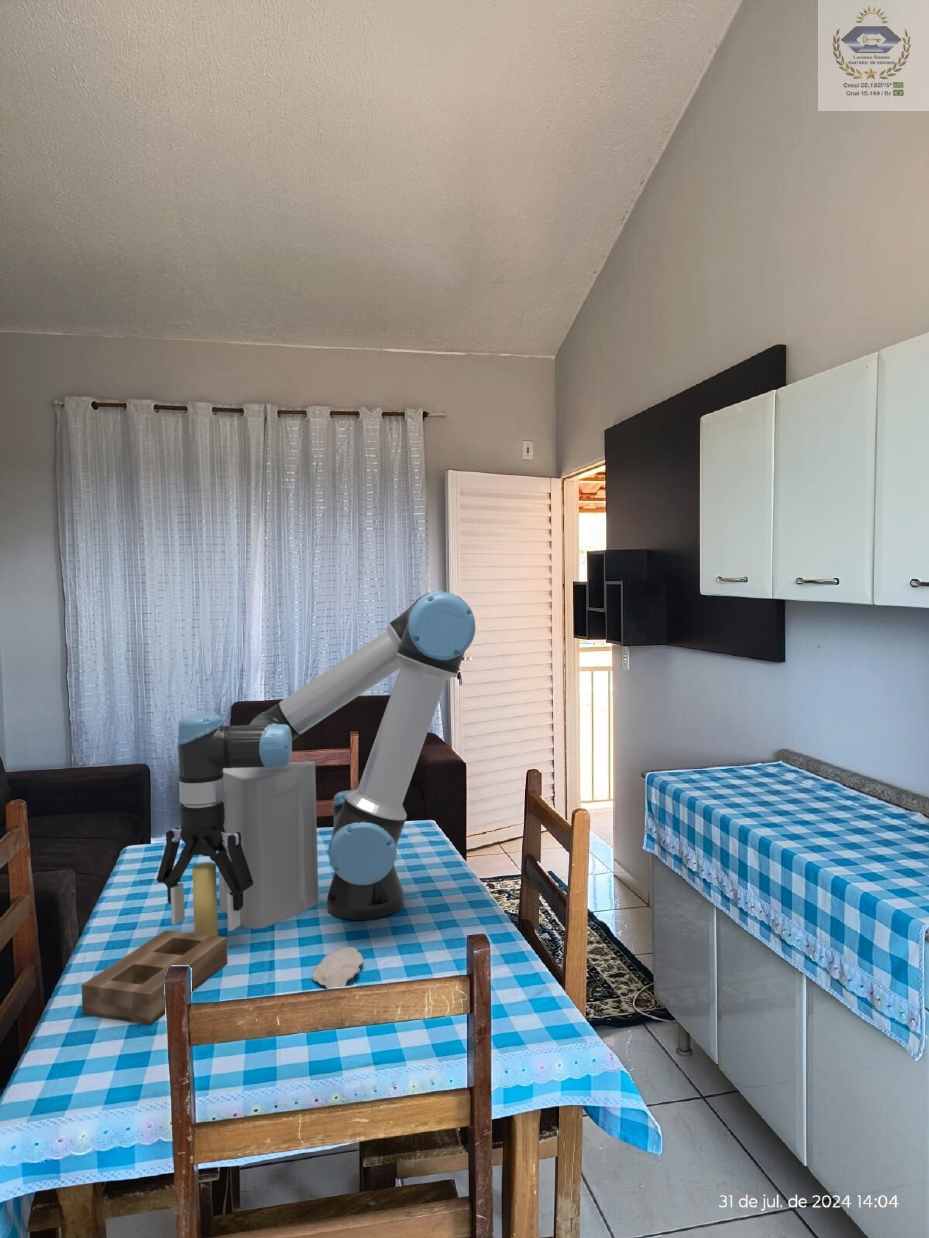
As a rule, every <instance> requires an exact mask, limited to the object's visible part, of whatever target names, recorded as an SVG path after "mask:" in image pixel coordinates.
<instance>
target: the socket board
mask: <svg viewBox="0 0 929 1238" xmlns="http://www.w3.org/2000/svg"><path fill="white" fill-rule="evenodd" d="M227 940H228V939H227V936H219V935H218V936H211V935H202V934H194V932H192V933H191V932H183V931H173V930H164V931H162V932H161V933H160V934H158V935H156V936H155V937H153V938H151V939H150V940H148V941H147V942H146V943H144V944H143V945H141V946H139V947H138V948H136V949H135V950H133V951H132V952H130V953H129V954H126V955H125V956H124V957H122V958H121V959H119V960H117V961H116V962H114V963H113V964H111V965H110V966H108V967H106V968H105V969H104V970H102V971H101V972H99V973H97V974H96V975H94V976H93V977H92V978H90V979H88V980H87V981H85V982H84V983H82V984H81V1003H82V1004H81V1005H82V1006H81V1007H82V1016H83V1015H85V1016H90V1017H97V1018H104V1019H111V1020H118V1021H123V1022H124V1021H125V1022H129V1023H130V1022H131V1023H138V1024H145V1025H150V1026H151V1025H153V1024H154V1023H155V1022H157V1021H158V1020H159V1019H160V1018H162V1017H163V1016H164V1015H166V1013H165V995H164V984H165V973H166V972H167V969H168V967H170V966H171V965H189V966H190V967H191V968H192V992H191V993H193V992H194V991H195V990H196V989H198V988H199V987H201V985H202V984H204V983H205V982H206V981H208V980H209V979H210V978H211V977H213V976H214V975H215V974H217V973H218V971H220V970H221V969H223V968H224V967H225V966H226V965H228V941H227ZM197 987H198V988H197ZM194 988H195V990H194Z"/></svg>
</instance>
